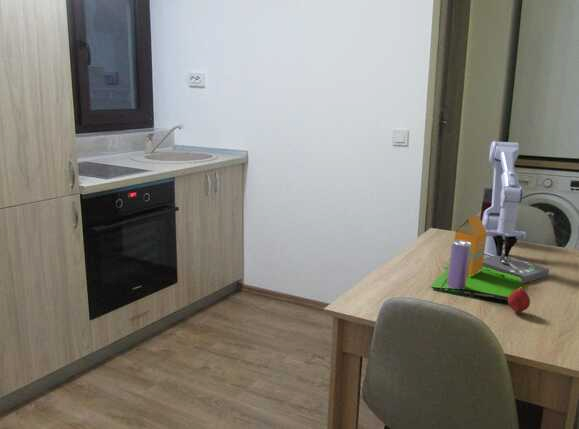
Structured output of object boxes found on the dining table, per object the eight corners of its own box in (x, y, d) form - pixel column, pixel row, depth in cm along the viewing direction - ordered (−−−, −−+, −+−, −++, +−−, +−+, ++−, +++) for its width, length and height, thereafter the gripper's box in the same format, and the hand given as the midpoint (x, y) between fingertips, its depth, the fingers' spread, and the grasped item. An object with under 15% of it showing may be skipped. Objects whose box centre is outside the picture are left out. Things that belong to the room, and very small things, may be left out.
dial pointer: (495, 257, 195) (496, 246, 194) (505, 258, 195) (507, 247, 194) (510, 270, 181) (512, 258, 180) (522, 270, 182) (524, 259, 181)
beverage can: (455, 291, 167) (462, 246, 163) (442, 284, 172) (448, 240, 168) (469, 289, 169) (476, 244, 166) (456, 282, 175) (462, 239, 171)
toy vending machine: (504, 244, 223) (514, 179, 217) (476, 239, 228) (486, 175, 222) (506, 239, 231) (516, 176, 225) (479, 235, 236) (488, 173, 229)
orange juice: (481, 272, 187) (489, 217, 182) (470, 277, 180) (479, 220, 176) (460, 266, 192) (468, 212, 187) (449, 271, 185) (457, 216, 181)
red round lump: (502, 308, 155) (506, 282, 153) (521, 308, 156) (525, 283, 154) (512, 316, 150) (516, 290, 148) (531, 317, 150) (536, 291, 148)
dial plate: (474, 266, 192) (475, 259, 192) (500, 260, 202) (501, 253, 201) (522, 283, 177) (524, 276, 177) (548, 275, 187) (549, 268, 186)
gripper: (492, 221, 186) (486, 258, 189) (532, 223, 187) (526, 260, 190) (484, 216, 193) (479, 252, 196) (523, 218, 194) (517, 253, 197)
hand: (501, 255), depth 194 cm, fingers closed, pressing on dial pointer
